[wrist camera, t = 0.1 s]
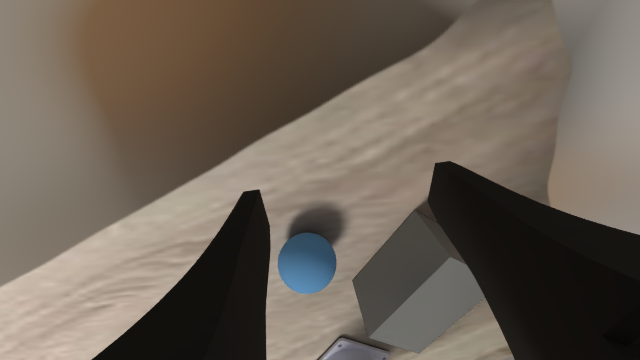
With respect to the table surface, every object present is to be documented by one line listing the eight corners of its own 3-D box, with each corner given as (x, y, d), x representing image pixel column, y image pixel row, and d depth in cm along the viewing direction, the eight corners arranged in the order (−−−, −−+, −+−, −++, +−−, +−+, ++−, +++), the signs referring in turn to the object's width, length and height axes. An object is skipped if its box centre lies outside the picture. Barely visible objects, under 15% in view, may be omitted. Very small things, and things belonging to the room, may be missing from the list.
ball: (313, 269, 27) (319, 314, 23) (268, 252, 25) (265, 296, 21) (341, 234, 25) (353, 274, 21) (295, 212, 24) (298, 251, 19)
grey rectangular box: (394, 297, 30) (418, 353, 25) (352, 280, 28) (368, 337, 23) (457, 234, 27) (501, 282, 22) (414, 210, 25) (450, 256, 20)
